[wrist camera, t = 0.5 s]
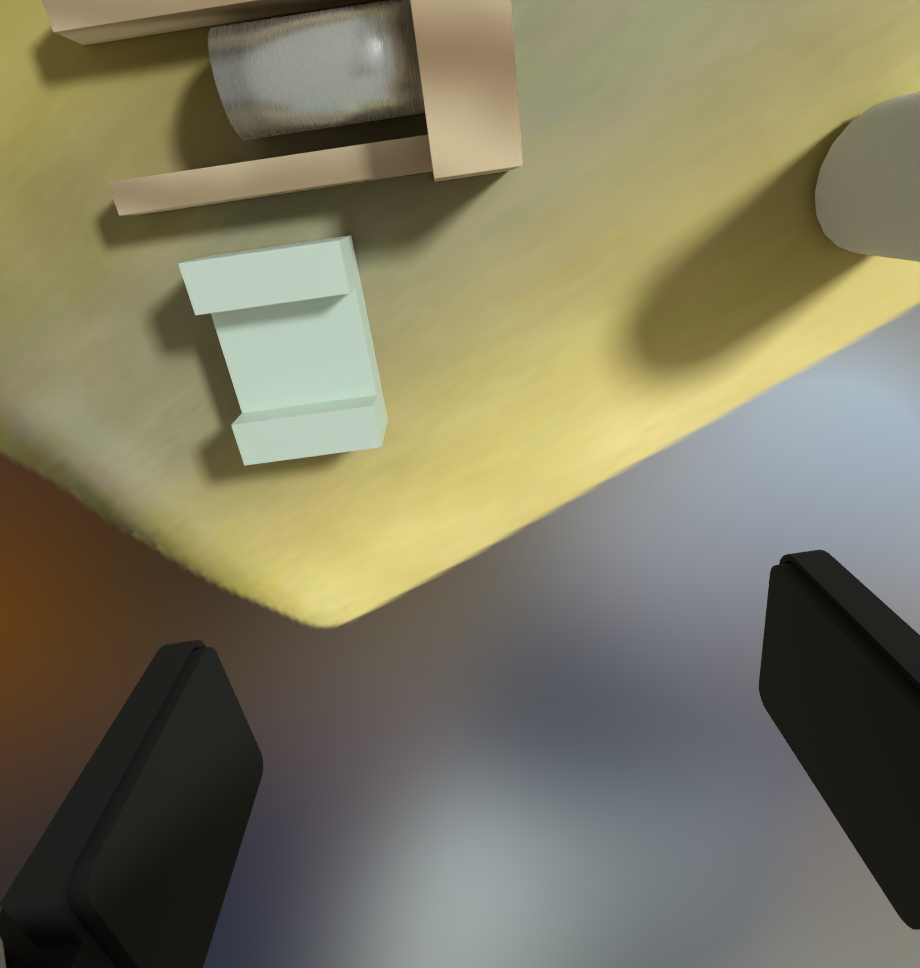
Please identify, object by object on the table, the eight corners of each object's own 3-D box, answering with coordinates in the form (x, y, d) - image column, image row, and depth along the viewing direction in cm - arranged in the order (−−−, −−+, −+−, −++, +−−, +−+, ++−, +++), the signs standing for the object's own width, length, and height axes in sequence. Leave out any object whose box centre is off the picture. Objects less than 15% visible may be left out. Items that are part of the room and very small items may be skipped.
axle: (256, 147, 30) (227, 130, 26) (233, 45, 29) (197, 11, 25) (484, 112, 30) (490, 91, 26) (473, 8, 28) (478, -33, 24)
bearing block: (66, -7, 27) (-22, -56, 22) (488, -74, 27) (501, -140, 21) (145, 224, 32) (87, 229, 26) (508, 170, 31) (522, 165, 26)
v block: (210, 255, 32) (178, 263, 28) (351, 234, 32) (339, 240, 28) (265, 436, 37) (244, 465, 33) (387, 420, 37) (381, 447, 33)
